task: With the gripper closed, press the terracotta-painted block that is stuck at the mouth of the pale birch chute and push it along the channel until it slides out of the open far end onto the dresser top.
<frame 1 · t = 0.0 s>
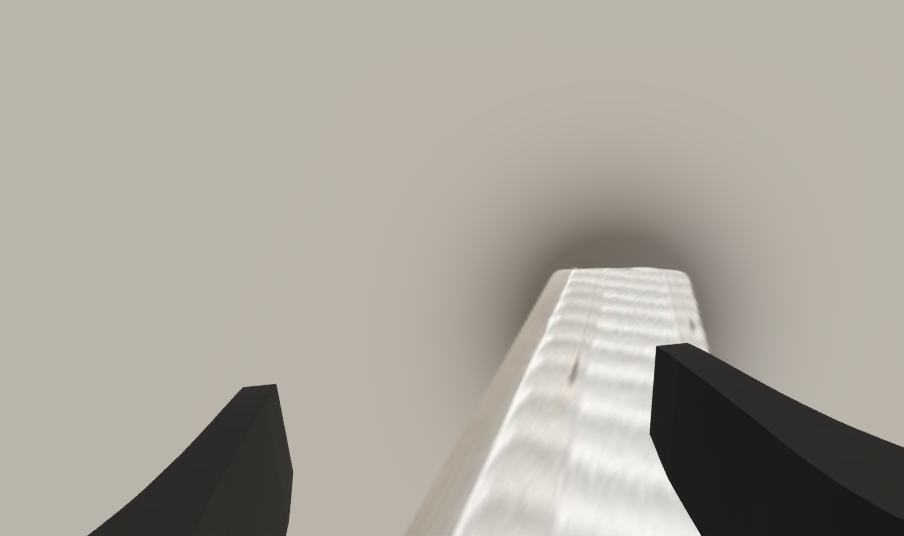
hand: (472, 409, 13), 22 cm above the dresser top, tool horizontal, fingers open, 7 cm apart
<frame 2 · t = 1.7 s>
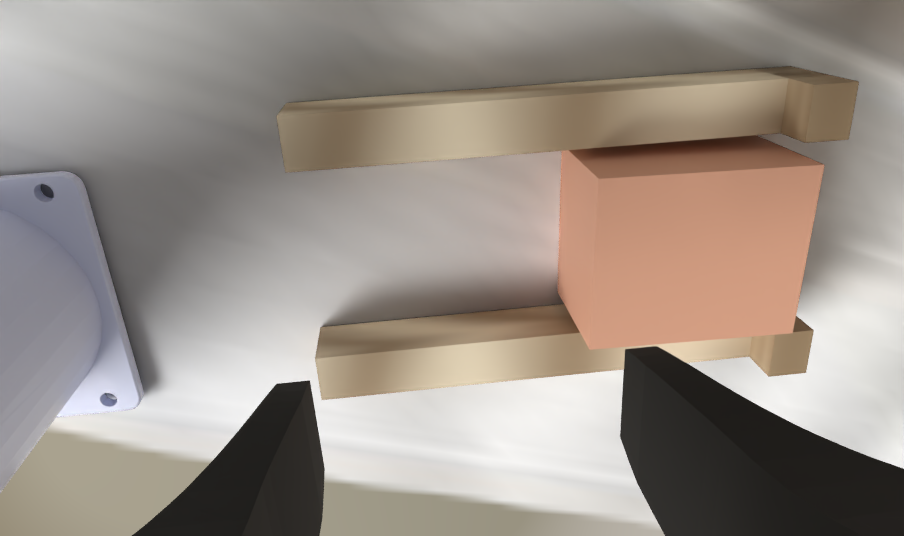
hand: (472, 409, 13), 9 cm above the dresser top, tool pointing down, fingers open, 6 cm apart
chute: (544, 225, 22), on the dresser top
block: (648, 213, 22), on the dresser top
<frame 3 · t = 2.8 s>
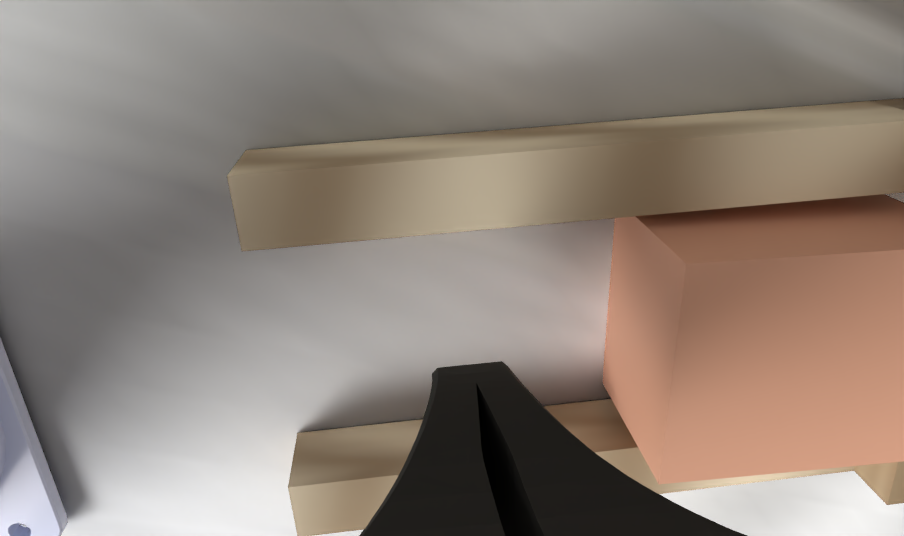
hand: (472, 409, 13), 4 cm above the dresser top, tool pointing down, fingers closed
chute: (589, 302, 17), on the dresser top
block: (723, 285, 17), on the dresser top
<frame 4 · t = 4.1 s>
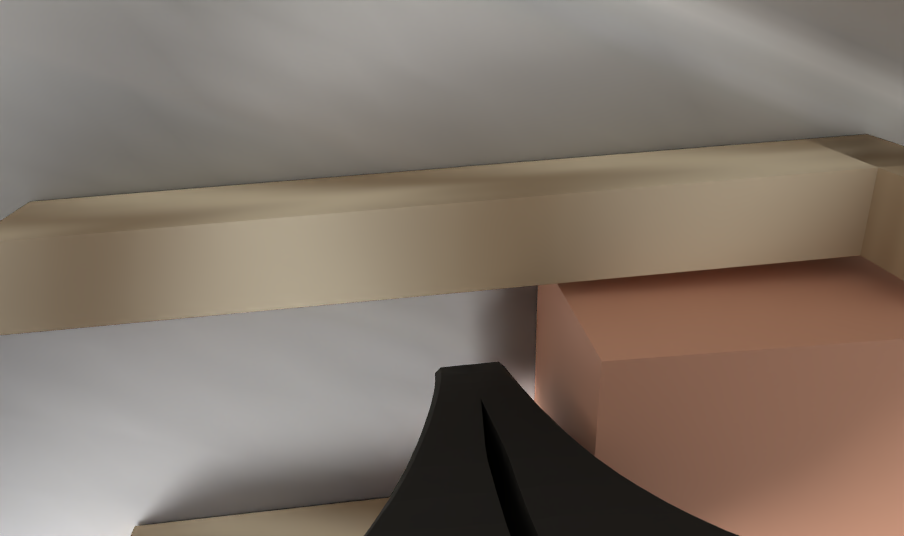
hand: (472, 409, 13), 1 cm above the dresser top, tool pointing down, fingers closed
chute: (476, 376, 14), on the dresser top
block: (677, 353, 14), on the dresser top, touching gripper
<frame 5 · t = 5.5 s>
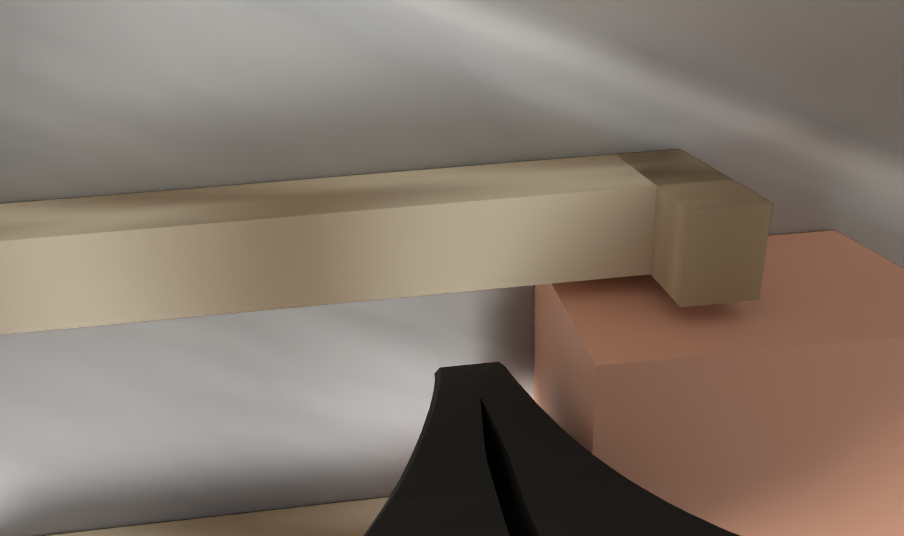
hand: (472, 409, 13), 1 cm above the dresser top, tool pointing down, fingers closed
chute: (300, 393, 14), on the dresser top
block: (676, 353, 14), on the dresser top, touching gripper
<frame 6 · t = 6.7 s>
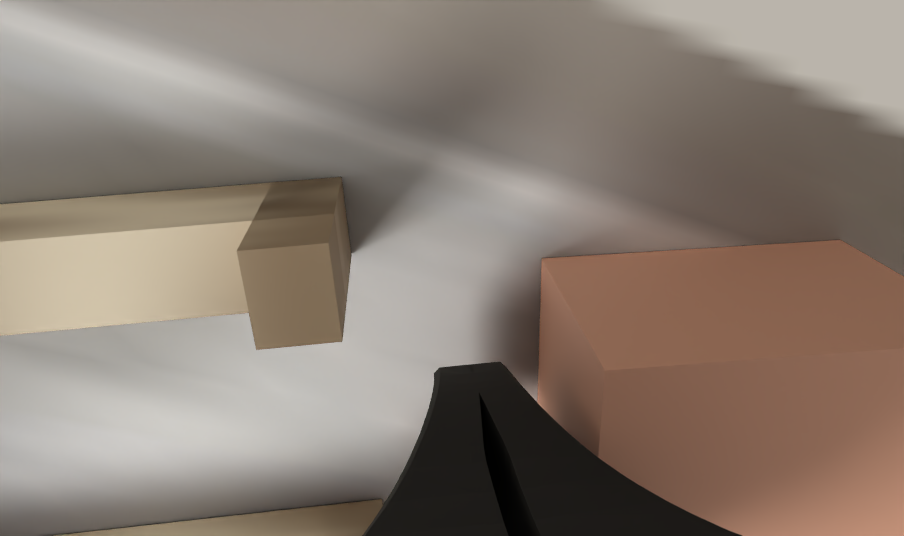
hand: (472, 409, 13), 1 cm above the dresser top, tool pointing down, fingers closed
block: (679, 359, 14), on the dresser top, touching gripper
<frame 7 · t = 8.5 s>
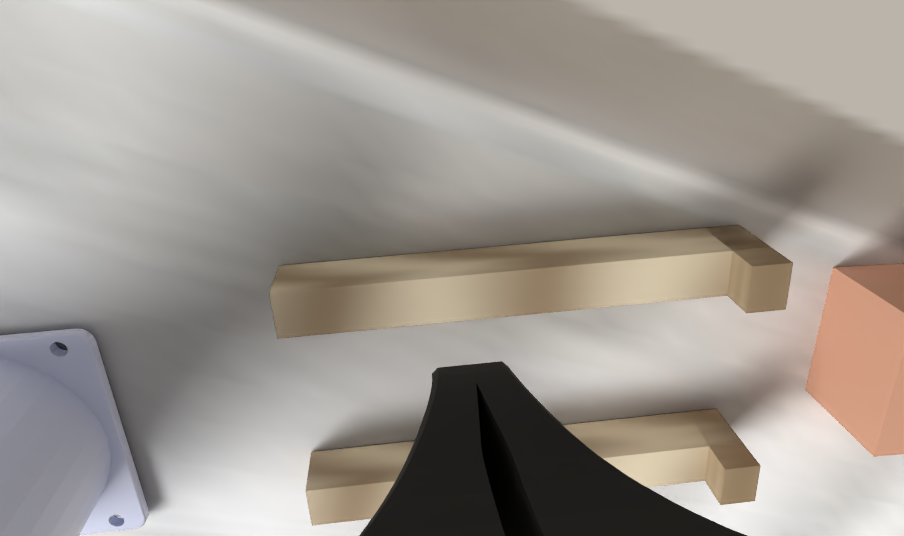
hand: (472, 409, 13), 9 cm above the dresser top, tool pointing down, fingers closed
chute: (516, 361, 24), on the dresser top
block: (894, 323, 25), on the dresser top
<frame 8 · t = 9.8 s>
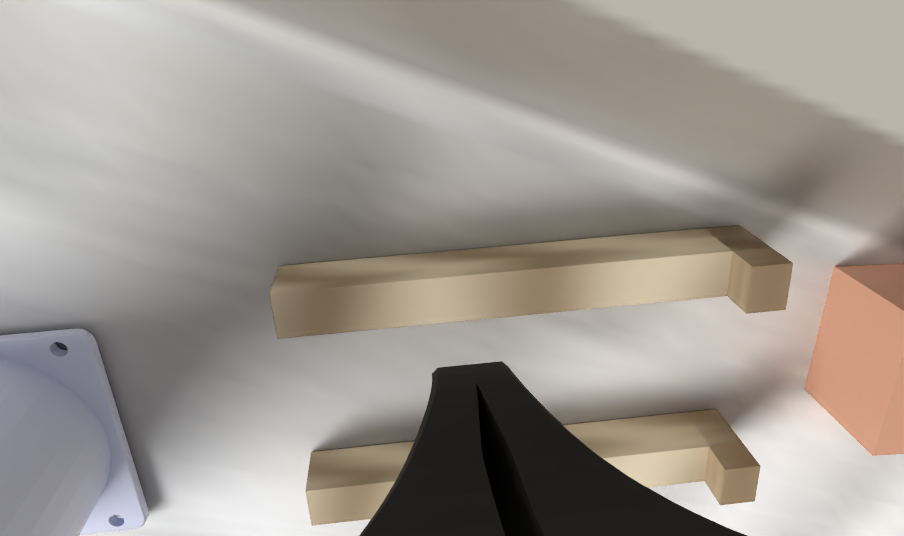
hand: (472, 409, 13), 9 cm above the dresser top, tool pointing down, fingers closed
chute: (516, 362, 24), on the dresser top
block: (893, 324, 25), on the dresser top
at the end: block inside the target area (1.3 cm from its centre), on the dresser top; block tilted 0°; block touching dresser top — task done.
